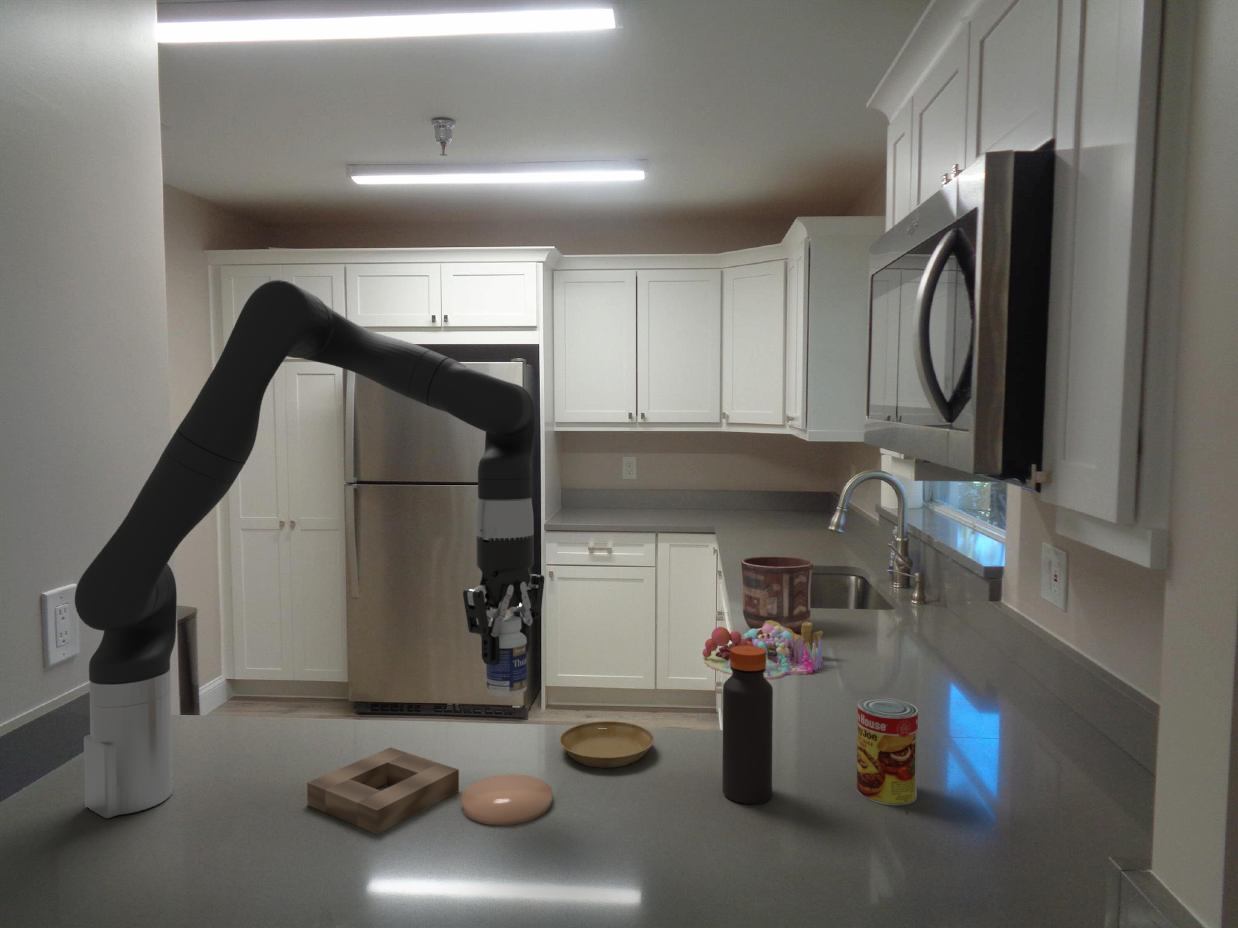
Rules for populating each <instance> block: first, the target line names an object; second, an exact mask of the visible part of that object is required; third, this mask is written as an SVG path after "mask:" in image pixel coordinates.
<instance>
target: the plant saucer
mask: <svg viewBox="0 0 1238 928" xmlns="http://www.w3.org/2000/svg"><path fill="white" fill-rule="evenodd" d="M598 728H607V729H598ZM558 740H559V745H561V747H562V748H563V750H564V751H565V752H566V753H567V754H568V755H569V756H570V757H571V758H572V759H574V760H575V762H578V763H579V764H582V765H585V766H588V767H592V766H593V768H605V769H606V768H607V769H608V768H609V769H611V768H619V767H623V766H628V765H630V764H632V763H635V762H637V761H638V760H639V759H641V758H642V757H643V756H644V755H645V754H646V753H647V752H648V751H649V749H650V748H651V747H652V745H653V744H654V740H655V737H654V735H653V733H652V732H651V731H649V729H647V728H645V727H643V726H641V725H638V724H635V723H630V722H624V721H616V720H615V721H614V720H613V721H611V720H608V721H606V720H602V721H592V722H584V723H581V724H577V725H575V726H572V727H570V728H568V729H566V730H565V731H564V732H562V733H561V734H560V736H559V739H558Z"/></svg>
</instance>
